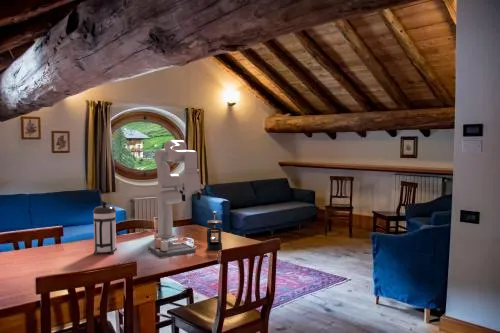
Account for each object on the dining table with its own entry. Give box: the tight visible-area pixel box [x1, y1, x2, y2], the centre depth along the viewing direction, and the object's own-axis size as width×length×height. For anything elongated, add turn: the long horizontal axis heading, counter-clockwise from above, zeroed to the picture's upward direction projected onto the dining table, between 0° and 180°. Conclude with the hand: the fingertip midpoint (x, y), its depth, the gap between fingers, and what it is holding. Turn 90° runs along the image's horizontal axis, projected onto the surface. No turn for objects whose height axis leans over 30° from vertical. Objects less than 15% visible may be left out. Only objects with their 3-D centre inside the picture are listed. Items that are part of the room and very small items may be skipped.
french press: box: [206, 210, 223, 252], centre depth 259 cm, size 12×9×23 cm
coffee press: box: [92, 201, 118, 256], centre depth 249 cm, size 17×16×30 cm
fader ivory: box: [161, 239, 169, 251], centre depth 247 cm, size 4×3×5 cm
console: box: [147, 241, 197, 259], centre depth 254 cm, size 20×22×3 cm
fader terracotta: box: [155, 237, 164, 248], centre depth 254 cm, size 4×3×5 cm
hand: (191, 200), depth 253 cm, fingers open, 9 cm apart
